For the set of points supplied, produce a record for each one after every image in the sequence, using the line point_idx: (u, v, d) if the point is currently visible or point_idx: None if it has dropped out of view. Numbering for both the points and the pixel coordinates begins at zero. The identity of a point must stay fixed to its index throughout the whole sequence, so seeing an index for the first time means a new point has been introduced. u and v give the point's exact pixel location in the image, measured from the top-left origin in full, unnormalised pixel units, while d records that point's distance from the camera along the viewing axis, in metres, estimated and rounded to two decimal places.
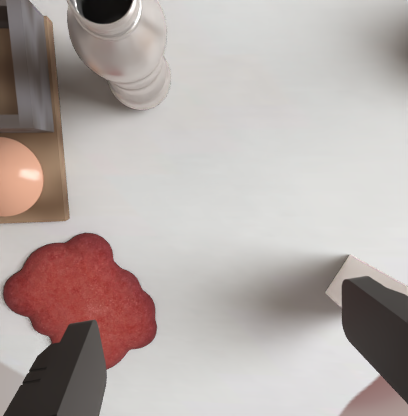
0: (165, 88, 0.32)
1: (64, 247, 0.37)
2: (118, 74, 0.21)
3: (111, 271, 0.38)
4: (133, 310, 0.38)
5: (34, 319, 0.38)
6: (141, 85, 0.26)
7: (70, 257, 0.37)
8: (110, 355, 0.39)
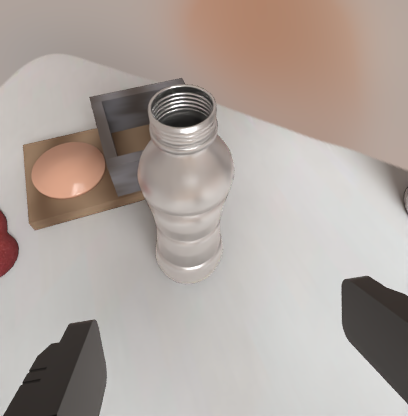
0: (182, 271, 0.29)
1: (0, 230, 0.35)
2: (139, 173, 0.20)
3: None
4: None
5: None
6: (157, 223, 0.24)
7: None
8: None
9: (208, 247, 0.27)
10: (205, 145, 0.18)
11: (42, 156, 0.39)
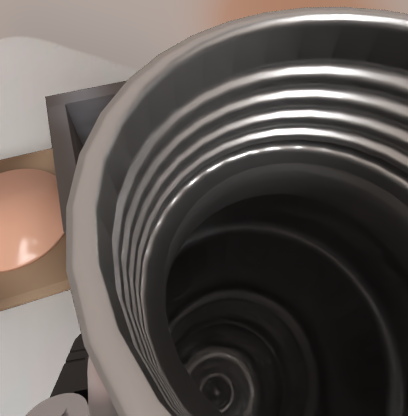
0: None
1: None
2: (88, 397, 0.05)
3: None
4: None
5: None
6: None
7: None
8: None
9: None
10: None
11: None
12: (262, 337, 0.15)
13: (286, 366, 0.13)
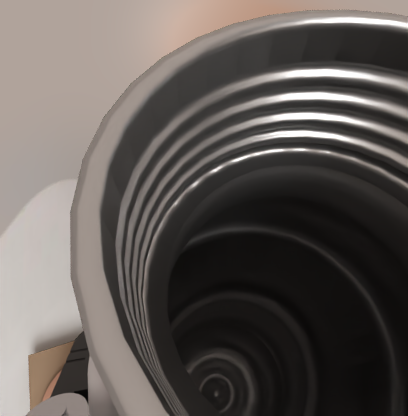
0: None
1: None
2: (89, 399, 0.05)
3: None
4: None
5: None
6: None
7: None
8: None
9: None
10: None
11: (53, 382, 0.29)
12: (262, 338, 0.15)
13: (286, 367, 0.13)
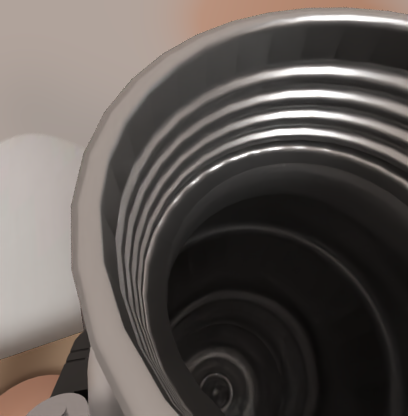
0: None
1: None
2: (89, 397, 0.05)
3: None
4: None
5: None
6: None
7: None
8: None
9: None
10: None
11: None
12: (261, 337, 0.15)
13: (285, 366, 0.13)
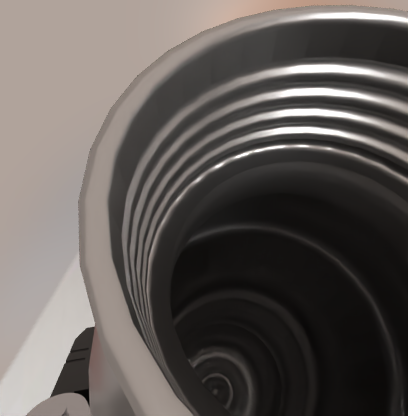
0: None
1: None
2: (90, 396, 0.05)
3: None
4: None
5: None
6: None
7: None
8: None
9: None
10: None
11: None
12: (261, 337, 0.15)
13: (285, 366, 0.13)
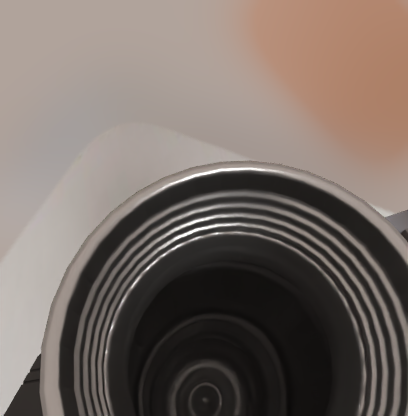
0: None
1: None
2: None
3: None
4: None
5: None
6: None
7: None
8: None
9: None
10: None
11: None
12: (246, 351, 0.16)
13: (266, 380, 0.14)
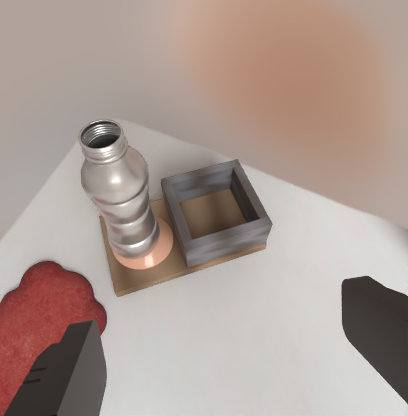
0: (124, 248, 0.39)
1: (89, 298, 0.41)
2: (81, 176, 0.30)
3: None
4: None
5: (17, 291, 0.41)
6: None
7: (81, 306, 0.40)
8: None
9: (141, 230, 0.37)
10: (116, 159, 0.28)
11: None
12: None
13: None
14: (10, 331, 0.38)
